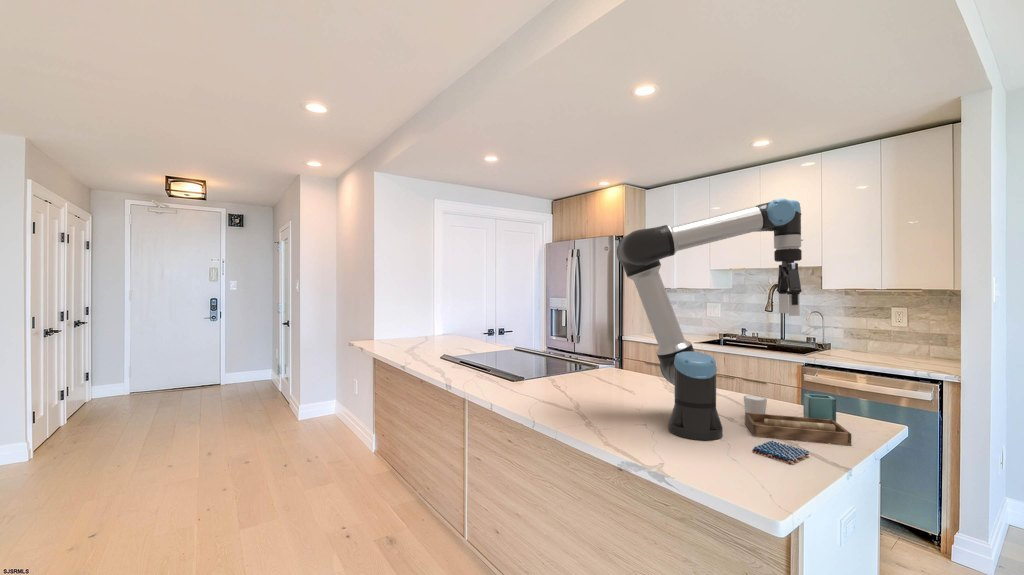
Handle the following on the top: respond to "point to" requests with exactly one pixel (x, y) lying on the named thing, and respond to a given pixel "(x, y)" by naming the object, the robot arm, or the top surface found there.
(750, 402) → the shot glass
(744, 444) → the top surface
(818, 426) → the dowel
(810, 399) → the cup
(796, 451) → the woven mat
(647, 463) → the top surface
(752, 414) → the tray
